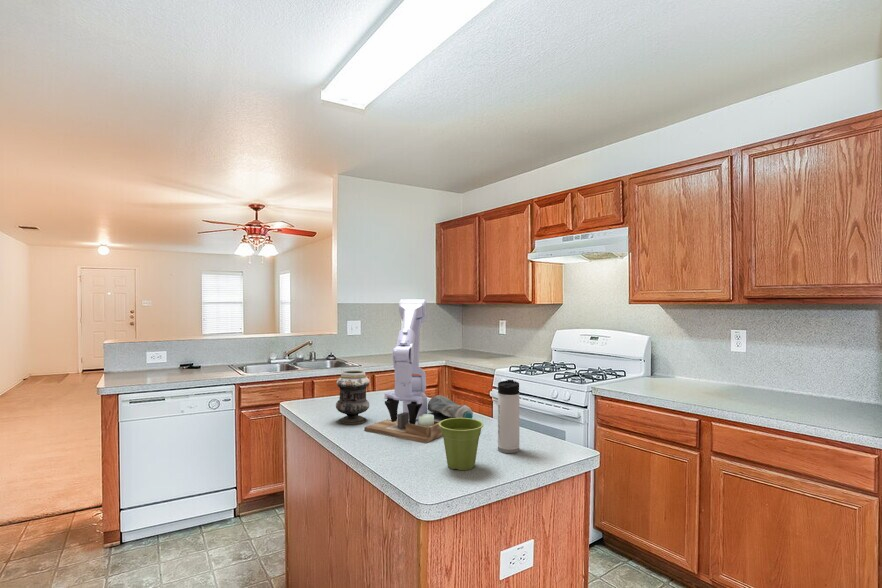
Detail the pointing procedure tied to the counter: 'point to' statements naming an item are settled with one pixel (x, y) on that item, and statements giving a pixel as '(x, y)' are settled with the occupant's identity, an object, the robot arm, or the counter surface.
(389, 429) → the shelf lane
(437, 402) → the detergent
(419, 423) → the grey-headed mallet
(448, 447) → the plant pot
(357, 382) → the dark footed vase
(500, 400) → the travel mug
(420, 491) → the counter surface
